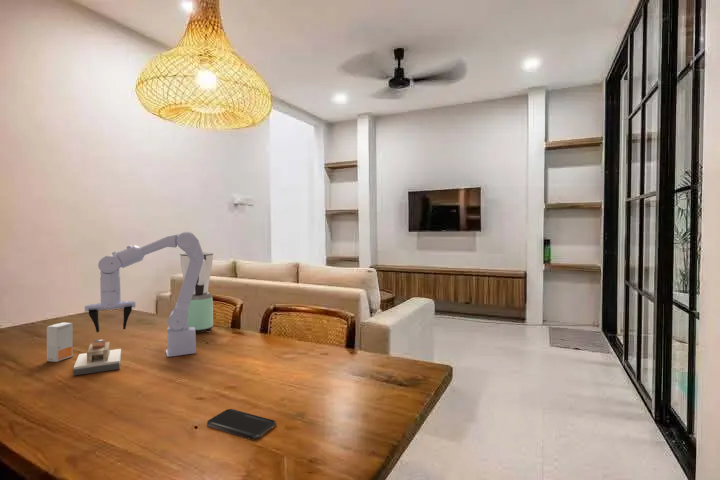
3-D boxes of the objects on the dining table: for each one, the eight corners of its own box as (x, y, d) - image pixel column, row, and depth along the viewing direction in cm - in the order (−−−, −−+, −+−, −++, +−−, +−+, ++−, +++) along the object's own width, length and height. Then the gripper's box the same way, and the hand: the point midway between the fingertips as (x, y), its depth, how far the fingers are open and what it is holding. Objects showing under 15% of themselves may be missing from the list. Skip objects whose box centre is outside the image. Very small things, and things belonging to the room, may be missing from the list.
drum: (105, 344, 131) (105, 338, 131) (105, 347, 128) (104, 341, 127) (92, 346, 129) (92, 339, 129) (91, 349, 126) (91, 342, 126)
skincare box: (56, 362, 130) (56, 327, 130) (46, 361, 131) (45, 326, 131) (73, 356, 136) (73, 322, 136) (63, 355, 137) (62, 321, 137)
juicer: (176, 329, 173) (175, 250, 172) (207, 324, 181) (207, 250, 180) (186, 339, 158) (186, 253, 157) (220, 334, 166) (220, 252, 165)
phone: (256, 437, 84) (204, 421, 90) (256, 442, 84) (204, 426, 91) (278, 421, 91) (229, 407, 98) (278, 425, 91) (229, 412, 98)
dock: (121, 355, 138) (120, 348, 138) (119, 369, 125) (119, 361, 125) (79, 361, 132) (79, 353, 132) (73, 376, 119) (73, 368, 119)
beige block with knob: (109, 351, 134) (109, 341, 134) (107, 360, 125) (107, 349, 125) (90, 354, 131) (90, 344, 131) (87, 363, 123) (86, 352, 123)
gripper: (83, 294, 125) (84, 335, 126) (135, 290, 133) (135, 329, 133) (85, 291, 131) (86, 330, 132) (134, 287, 139) (135, 325, 139)
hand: (111, 330), depth 133 cm, fingers open, 7 cm apart
